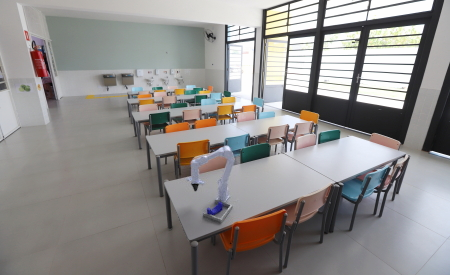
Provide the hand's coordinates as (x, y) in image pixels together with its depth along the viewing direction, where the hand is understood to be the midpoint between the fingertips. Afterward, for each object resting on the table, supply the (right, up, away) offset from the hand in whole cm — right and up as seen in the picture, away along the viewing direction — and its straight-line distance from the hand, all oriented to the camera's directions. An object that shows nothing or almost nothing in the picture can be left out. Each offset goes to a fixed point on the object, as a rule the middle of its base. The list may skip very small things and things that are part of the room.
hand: (195, 190), depth 169 cm
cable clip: (+15, -14, -8) cm, 22 cm away
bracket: (+17, -13, -8) cm, 23 cm away
